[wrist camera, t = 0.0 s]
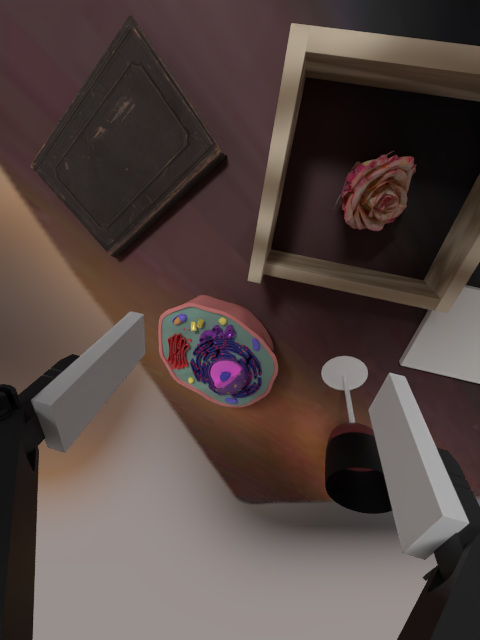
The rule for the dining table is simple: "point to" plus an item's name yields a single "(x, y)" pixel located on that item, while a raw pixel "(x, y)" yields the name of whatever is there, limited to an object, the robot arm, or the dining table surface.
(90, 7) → the dining table surface
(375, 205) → the flower
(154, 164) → the hardcover book
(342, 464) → the wineglass
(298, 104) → the frame
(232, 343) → the cell model
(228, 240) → the dining table surface
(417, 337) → the tile
